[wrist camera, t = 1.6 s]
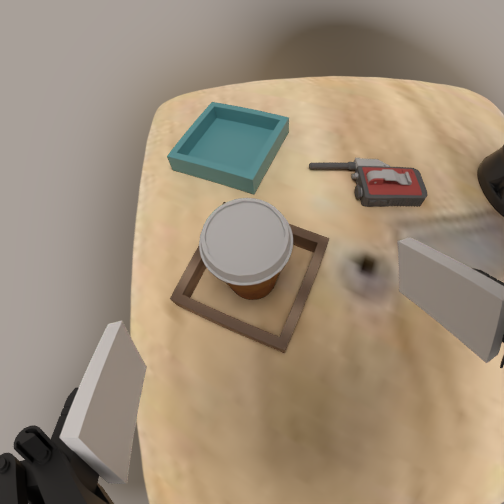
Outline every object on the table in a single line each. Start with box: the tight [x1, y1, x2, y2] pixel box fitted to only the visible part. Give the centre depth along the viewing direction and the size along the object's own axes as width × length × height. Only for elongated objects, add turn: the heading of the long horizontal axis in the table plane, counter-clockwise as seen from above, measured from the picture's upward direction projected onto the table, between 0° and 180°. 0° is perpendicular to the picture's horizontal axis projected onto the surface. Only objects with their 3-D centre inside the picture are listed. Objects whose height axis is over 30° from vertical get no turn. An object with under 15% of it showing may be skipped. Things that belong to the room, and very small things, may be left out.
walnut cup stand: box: [170, 202, 329, 353], centre depth 38 cm, size 15×15×3 cm
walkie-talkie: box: [309, 158, 427, 207], centre depth 43 cm, size 9×4×20 cm
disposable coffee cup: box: [199, 198, 293, 300], centre depth 34 cm, size 10×10×12 cm
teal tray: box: [167, 102, 289, 194], centre depth 48 cm, size 15×15×4 cm
